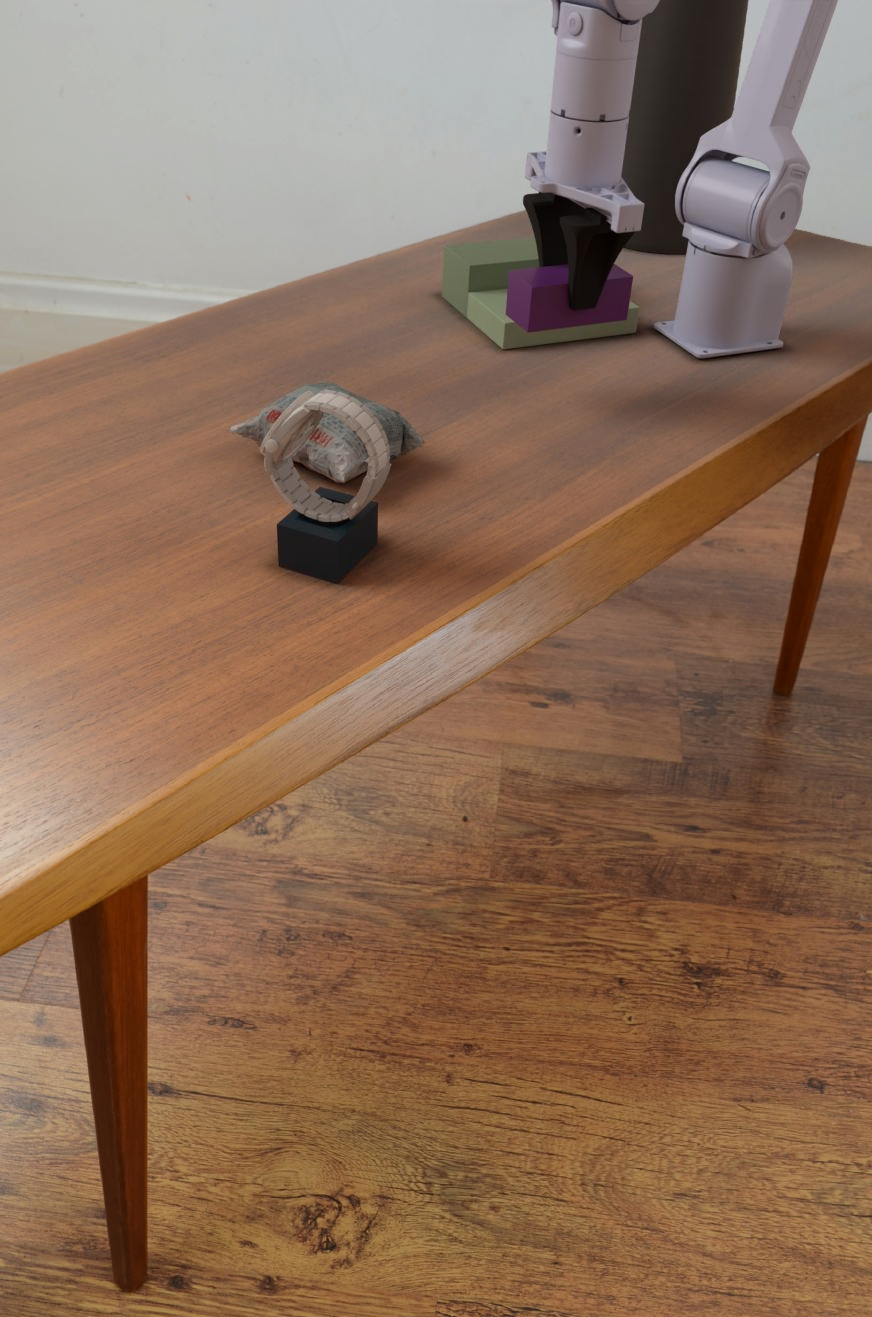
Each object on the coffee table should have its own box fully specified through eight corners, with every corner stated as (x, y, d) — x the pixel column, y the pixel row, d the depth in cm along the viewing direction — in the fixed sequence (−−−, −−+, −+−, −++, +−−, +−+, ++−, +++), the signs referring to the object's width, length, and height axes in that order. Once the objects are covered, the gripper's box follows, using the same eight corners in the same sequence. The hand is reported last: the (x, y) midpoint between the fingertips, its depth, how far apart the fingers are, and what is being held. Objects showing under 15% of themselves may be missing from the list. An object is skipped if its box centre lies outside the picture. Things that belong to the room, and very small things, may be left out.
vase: (593, 246, 128) (632, -58, 111) (600, 212, 139) (636, -71, 121) (717, 259, 127) (776, -48, 109) (714, 222, 137) (767, -62, 120)
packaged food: (343, 510, 80) (344, 445, 77) (229, 453, 85) (225, 390, 83) (426, 469, 85) (429, 407, 82) (313, 418, 91) (312, 359, 88)
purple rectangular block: (602, 302, 95) (608, 259, 93) (627, 320, 92) (633, 275, 90) (505, 314, 92) (508, 269, 90) (527, 333, 89) (532, 287, 87)
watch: (295, 520, 78) (290, 367, 72) (401, 550, 76) (406, 394, 69) (251, 558, 74) (241, 400, 68) (362, 592, 72) (363, 431, 65)
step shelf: (566, 282, 118) (571, 233, 115) (636, 332, 108) (644, 280, 105) (441, 296, 114) (443, 244, 111) (502, 349, 104) (507, 295, 101)
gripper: (496, 92, 87) (484, 272, 95) (591, 140, 77) (568, 337, 85) (578, 88, 89) (559, 263, 98) (680, 134, 79) (649, 326, 87)
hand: (568, 297), depth 91 cm, fingers closed on purple rectangular block, 4 cm apart
